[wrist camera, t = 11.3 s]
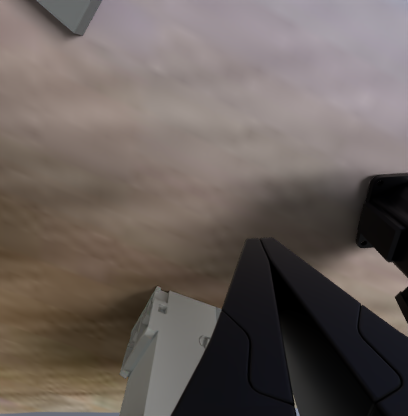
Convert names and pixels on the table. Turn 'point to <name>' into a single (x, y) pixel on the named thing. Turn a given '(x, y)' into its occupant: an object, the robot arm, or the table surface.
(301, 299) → the robot arm
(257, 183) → the table surface
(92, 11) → the din rail plate
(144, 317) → the circuit breaker
